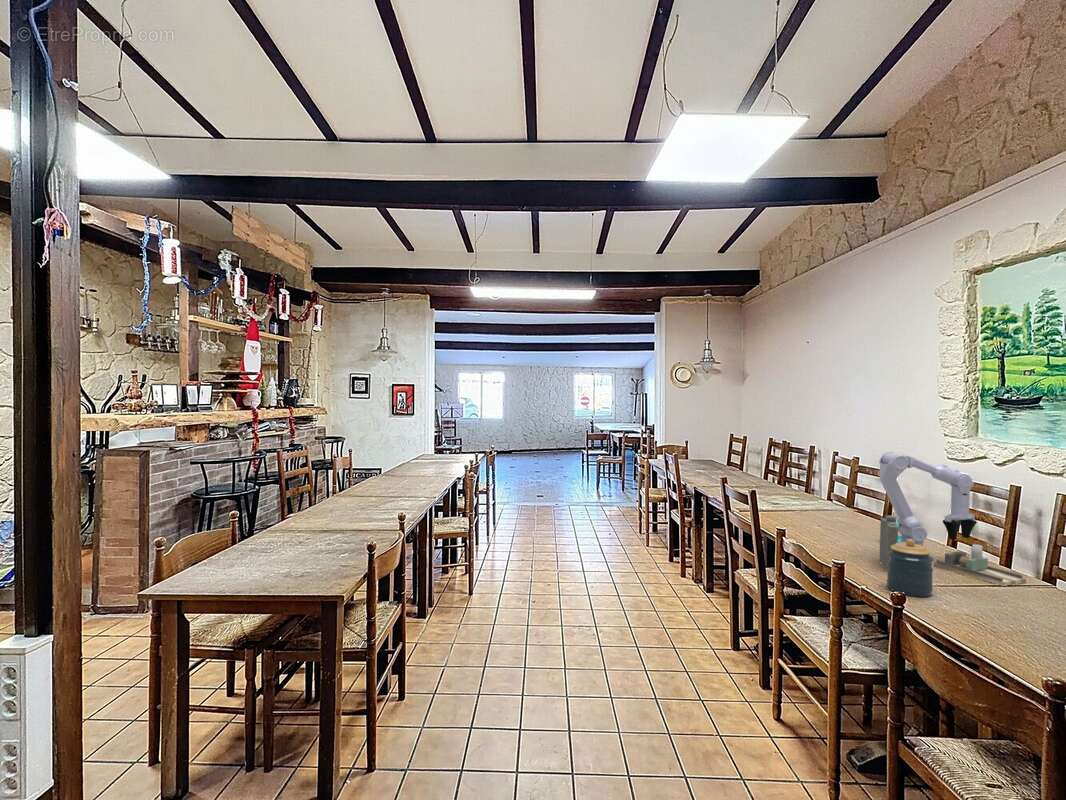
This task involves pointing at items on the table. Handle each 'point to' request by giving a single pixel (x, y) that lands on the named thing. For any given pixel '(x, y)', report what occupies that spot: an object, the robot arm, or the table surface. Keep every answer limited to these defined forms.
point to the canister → (910, 569)
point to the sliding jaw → (977, 559)
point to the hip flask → (887, 537)
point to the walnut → (963, 560)
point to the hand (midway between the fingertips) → (959, 538)
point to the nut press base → (979, 571)
